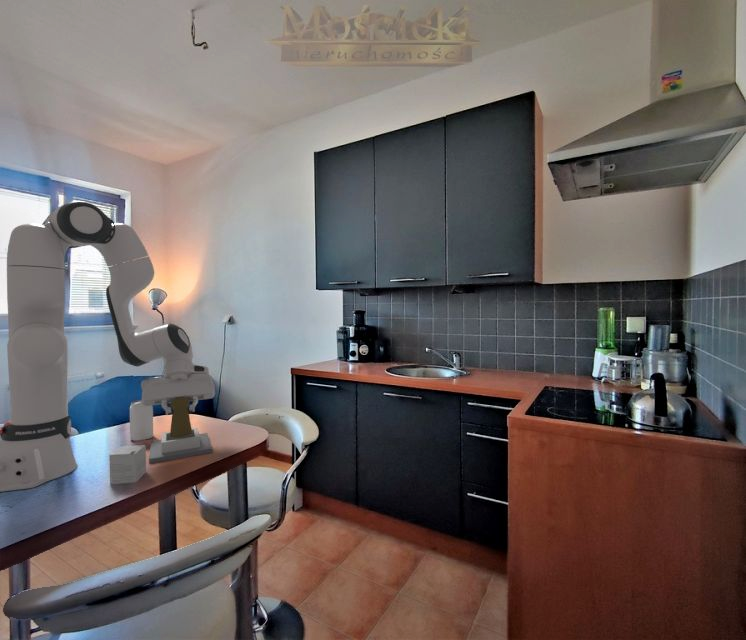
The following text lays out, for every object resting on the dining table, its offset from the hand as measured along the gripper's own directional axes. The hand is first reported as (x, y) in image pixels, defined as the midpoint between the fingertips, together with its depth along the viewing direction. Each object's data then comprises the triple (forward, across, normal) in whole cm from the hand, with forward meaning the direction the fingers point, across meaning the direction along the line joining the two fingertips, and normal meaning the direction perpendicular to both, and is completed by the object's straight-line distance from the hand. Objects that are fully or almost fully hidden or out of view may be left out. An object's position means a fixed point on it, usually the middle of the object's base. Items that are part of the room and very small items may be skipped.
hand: (180, 412), depth 114 cm
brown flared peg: (+4, 0, +5) cm, 7 cm away
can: (-4, -11, +20) cm, 24 cm away
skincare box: (+19, -12, -3) cm, 23 cm away
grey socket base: (+8, 0, +8) cm, 11 cm away
